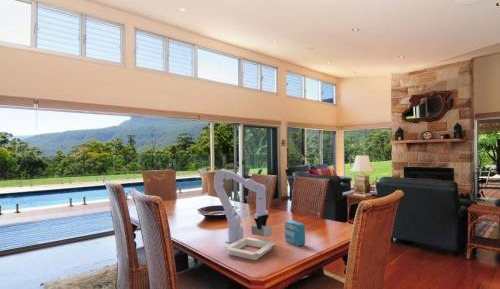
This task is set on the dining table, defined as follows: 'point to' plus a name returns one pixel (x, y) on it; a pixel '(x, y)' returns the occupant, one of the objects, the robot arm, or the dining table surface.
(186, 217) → the dining table surface
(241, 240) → the cream square frame
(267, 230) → the box
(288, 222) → the data package
